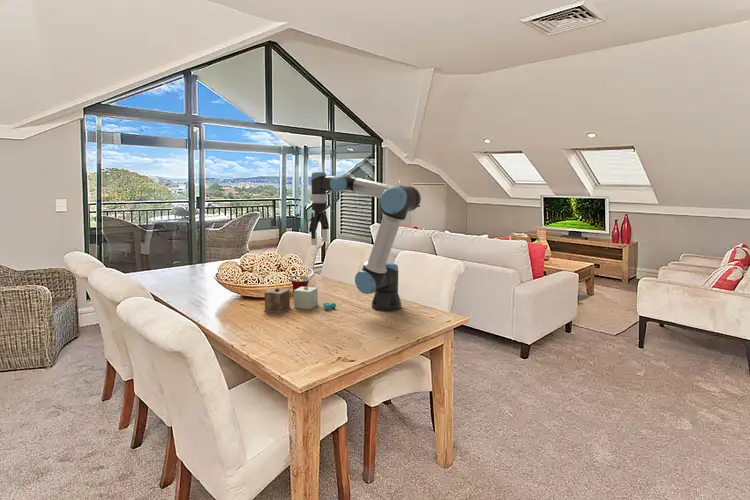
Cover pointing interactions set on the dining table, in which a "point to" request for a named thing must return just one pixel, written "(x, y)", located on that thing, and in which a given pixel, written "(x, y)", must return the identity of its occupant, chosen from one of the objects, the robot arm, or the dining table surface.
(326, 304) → the marbles
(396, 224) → the robot arm
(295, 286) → the plastic cup
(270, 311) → the grey square plate
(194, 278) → the dining table surface
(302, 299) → the sage cover
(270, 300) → the walnut cover
